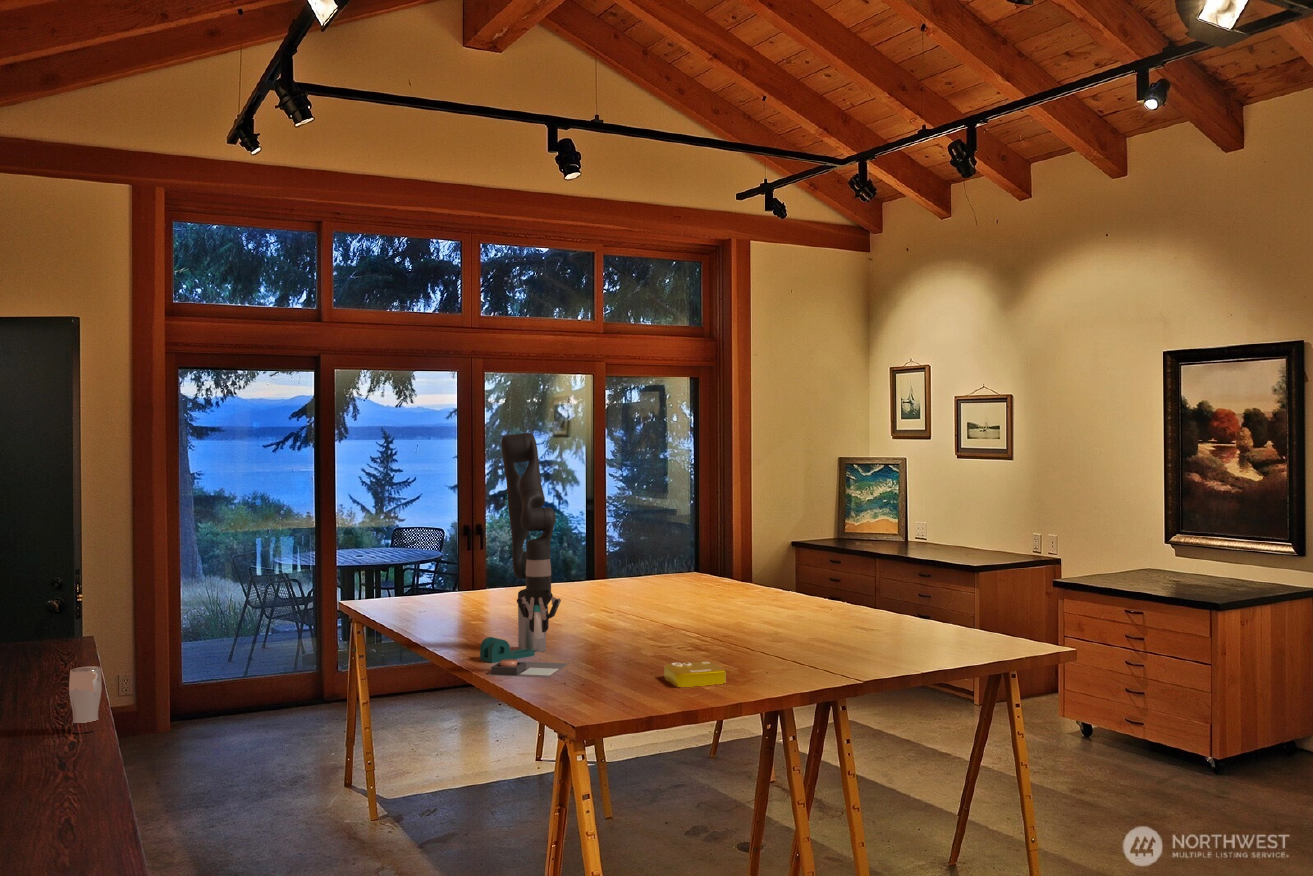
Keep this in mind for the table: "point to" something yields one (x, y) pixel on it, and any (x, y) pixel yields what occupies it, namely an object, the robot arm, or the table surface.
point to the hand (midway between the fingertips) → (538, 631)
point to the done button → (508, 663)
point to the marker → (538, 622)
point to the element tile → (694, 674)
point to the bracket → (500, 651)
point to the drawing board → (528, 669)
